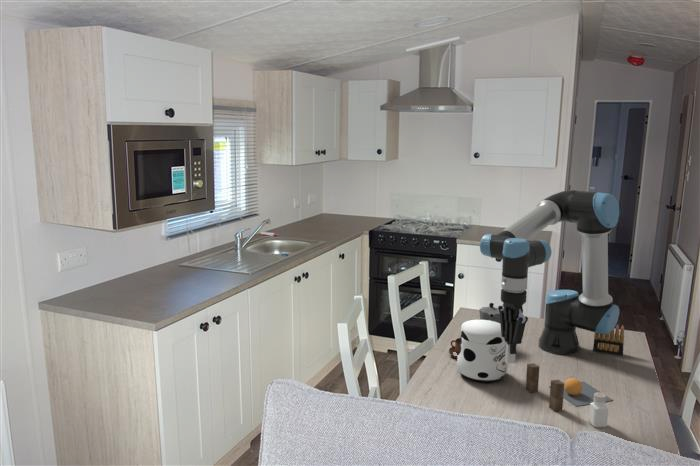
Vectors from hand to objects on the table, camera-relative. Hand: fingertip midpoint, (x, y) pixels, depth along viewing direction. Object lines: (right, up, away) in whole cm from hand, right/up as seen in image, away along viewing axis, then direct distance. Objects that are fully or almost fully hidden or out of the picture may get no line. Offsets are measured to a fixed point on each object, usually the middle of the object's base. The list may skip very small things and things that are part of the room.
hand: (509, 362), depth 175 cm
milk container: (-3, -10, +24) cm, 27 cm away
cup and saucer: (-6, -7, +41) cm, 42 cm away
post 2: (+14, -15, 0) cm, 20 cm away
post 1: (+11, -12, +12) cm, 20 cm away
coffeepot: (+6, -5, +52) cm, 52 cm away
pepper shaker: (+23, -17, -9) cm, 30 cm away
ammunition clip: (+50, -7, +44) cm, 67 cm away
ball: (+23, -10, +9) cm, 27 cm away
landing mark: (+26, -13, +10) cm, 31 cm away
